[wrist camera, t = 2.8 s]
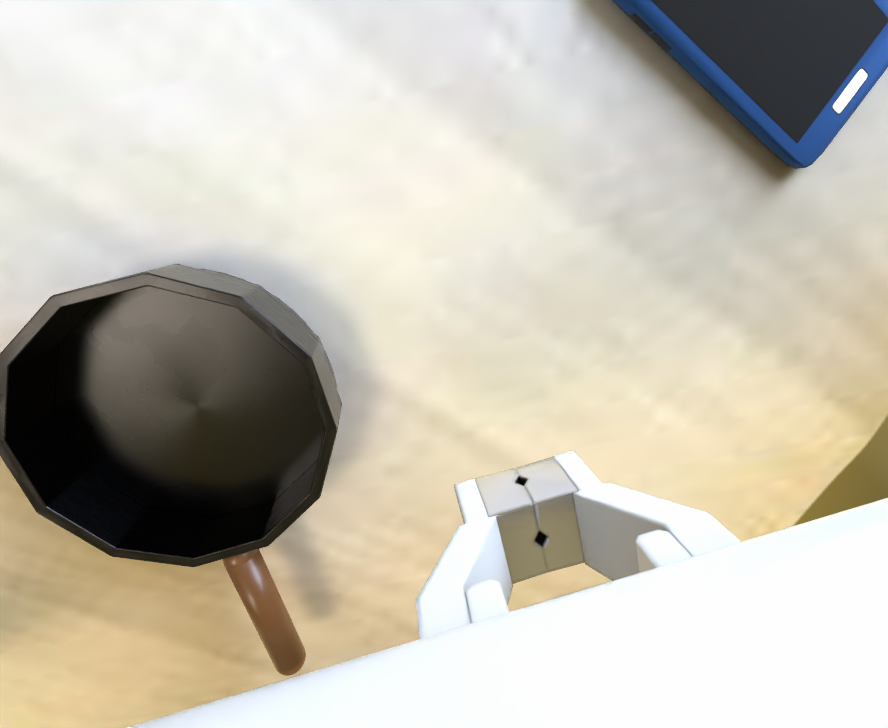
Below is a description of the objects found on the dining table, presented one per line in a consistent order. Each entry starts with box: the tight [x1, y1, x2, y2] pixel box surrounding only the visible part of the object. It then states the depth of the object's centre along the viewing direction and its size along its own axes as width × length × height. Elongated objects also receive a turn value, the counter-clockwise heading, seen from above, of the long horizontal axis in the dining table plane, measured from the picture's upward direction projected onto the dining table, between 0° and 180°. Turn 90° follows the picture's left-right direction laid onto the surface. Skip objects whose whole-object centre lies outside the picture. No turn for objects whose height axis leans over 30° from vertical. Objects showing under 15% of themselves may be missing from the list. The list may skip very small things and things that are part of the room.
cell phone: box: [613, 0, 888, 168], centre depth 20 cm, size 7×14×1 cm, turn 57°
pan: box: [0, 264, 342, 676], centre depth 23 cm, size 21×13×4 cm, turn 13°
